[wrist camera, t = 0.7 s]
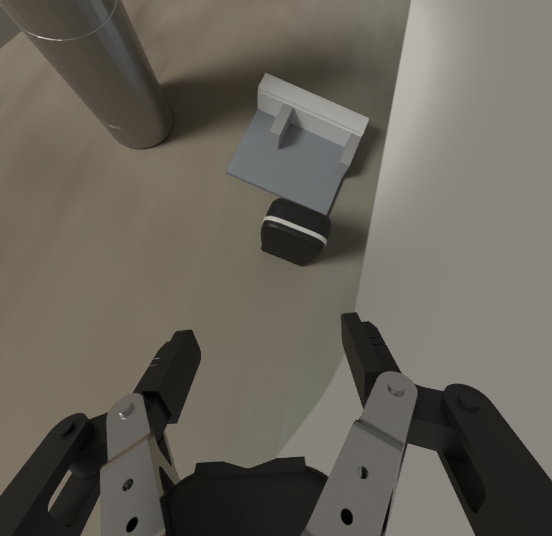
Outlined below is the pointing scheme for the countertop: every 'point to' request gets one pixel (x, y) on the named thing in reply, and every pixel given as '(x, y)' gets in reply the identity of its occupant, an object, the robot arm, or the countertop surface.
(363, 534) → the robot arm
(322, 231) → the black rounded block
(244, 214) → the countertop surface
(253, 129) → the bracket
